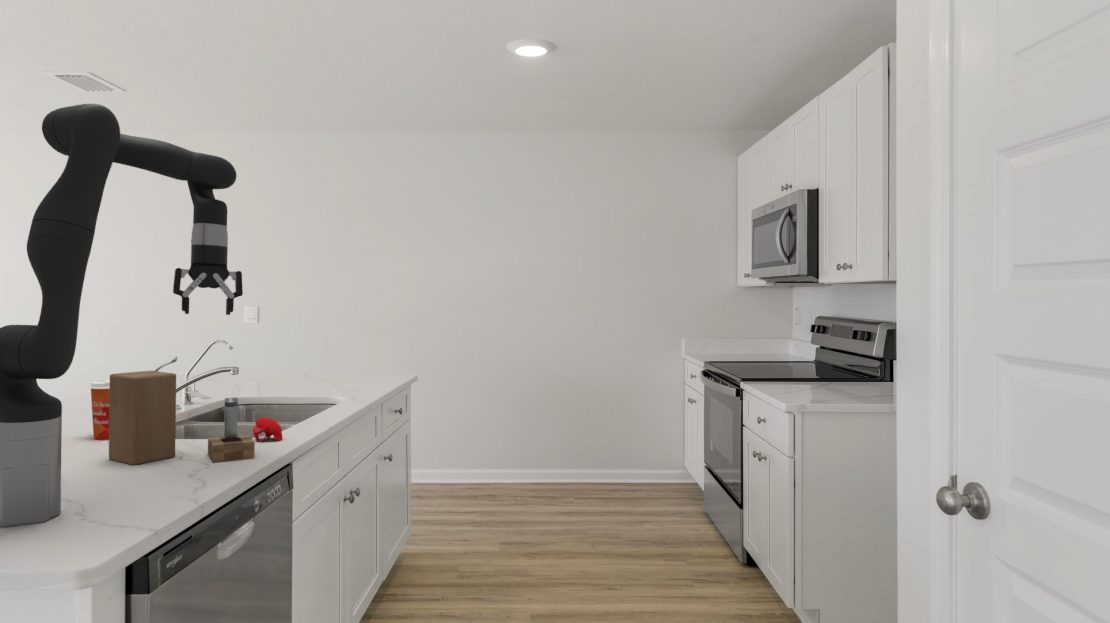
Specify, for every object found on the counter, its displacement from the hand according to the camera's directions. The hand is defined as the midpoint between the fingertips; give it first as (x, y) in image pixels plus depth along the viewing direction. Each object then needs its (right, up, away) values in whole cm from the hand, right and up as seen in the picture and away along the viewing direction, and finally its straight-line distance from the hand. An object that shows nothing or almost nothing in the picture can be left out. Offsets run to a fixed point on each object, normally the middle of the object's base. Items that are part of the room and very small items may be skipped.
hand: (207, 314), depth 155 cm
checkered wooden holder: (+3, -34, +6) cm, 35 cm away
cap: (+3, -34, +24) cm, 42 cm away
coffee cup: (-38, -33, +22) cm, 55 cm away
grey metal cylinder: (+2, -34, +6) cm, 35 cm away
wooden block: (-16, -34, +2) cm, 38 cm away
